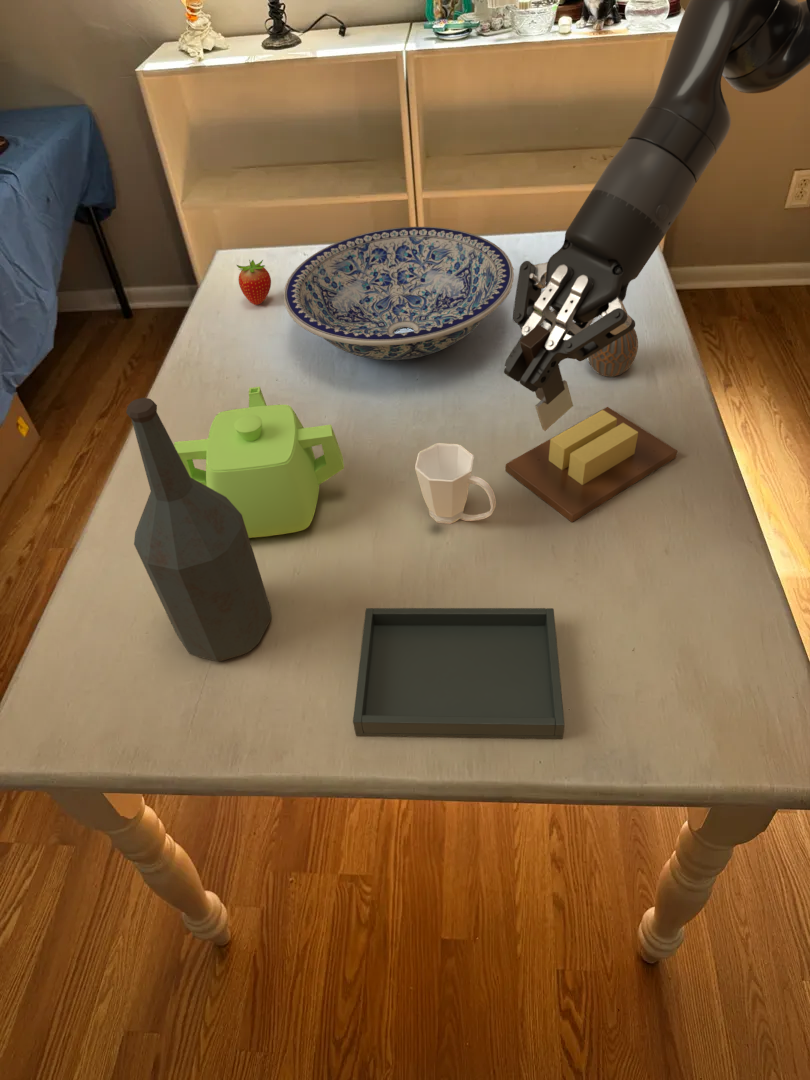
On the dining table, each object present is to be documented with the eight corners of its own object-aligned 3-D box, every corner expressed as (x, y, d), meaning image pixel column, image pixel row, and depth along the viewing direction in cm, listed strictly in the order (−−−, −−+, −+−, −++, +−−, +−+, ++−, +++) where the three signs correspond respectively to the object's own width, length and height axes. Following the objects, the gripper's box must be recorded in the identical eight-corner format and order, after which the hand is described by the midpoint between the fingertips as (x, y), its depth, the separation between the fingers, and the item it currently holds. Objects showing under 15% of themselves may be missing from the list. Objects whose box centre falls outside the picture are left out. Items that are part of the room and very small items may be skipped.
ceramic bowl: (347, 268, 139) (340, 212, 132) (536, 293, 129) (540, 234, 122) (254, 378, 118) (239, 319, 110) (472, 418, 108) (471, 356, 100)
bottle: (263, 580, 90) (194, 357, 68) (281, 646, 83) (211, 422, 61) (173, 607, 88) (73, 386, 66) (185, 676, 82) (78, 457, 60)
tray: (551, 623, 83) (553, 607, 81) (562, 739, 74) (564, 725, 72) (368, 622, 85) (365, 607, 83) (356, 736, 75) (352, 722, 73)
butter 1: (599, 430, 102) (602, 409, 99) (613, 440, 100) (617, 418, 98) (548, 460, 99) (550, 439, 96) (562, 470, 97) (564, 449, 95)
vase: (643, 365, 113) (652, 311, 107) (617, 388, 110) (626, 333, 103) (601, 349, 116) (608, 296, 110) (575, 371, 113) (581, 317, 107)
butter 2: (619, 444, 100) (623, 422, 97) (634, 453, 98) (638, 432, 96) (567, 474, 97) (570, 453, 94) (582, 485, 95) (585, 463, 93)
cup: (436, 484, 99) (433, 434, 93) (507, 511, 95) (509, 460, 89) (407, 519, 95) (402, 469, 89) (480, 548, 91) (480, 498, 85)
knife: (566, 401, 81) (544, 318, 71) (577, 408, 80) (556, 325, 70) (538, 426, 80) (512, 346, 71) (549, 434, 79) (524, 353, 70)
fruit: (253, 294, 135) (243, 250, 129) (280, 297, 134) (271, 253, 128) (238, 310, 132) (227, 265, 126) (266, 314, 130) (256, 269, 124)
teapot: (199, 455, 106) (171, 375, 97) (345, 439, 106) (332, 357, 97) (185, 555, 93) (151, 473, 84) (351, 536, 94) (337, 452, 84)
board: (606, 413, 106) (607, 406, 105) (676, 457, 99) (677, 450, 98) (505, 471, 100) (505, 463, 99) (572, 522, 93) (572, 515, 92)
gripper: (706, 257, 67) (589, 428, 72) (591, 207, 75) (492, 364, 80) (675, 215, 62) (549, 404, 66) (554, 167, 70) (449, 338, 74)
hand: (518, 381), depth 73 cm, fingers closed on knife, 1 cm apart
